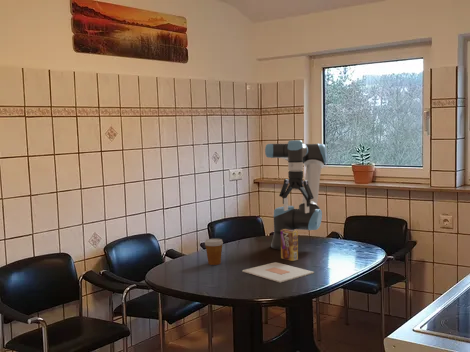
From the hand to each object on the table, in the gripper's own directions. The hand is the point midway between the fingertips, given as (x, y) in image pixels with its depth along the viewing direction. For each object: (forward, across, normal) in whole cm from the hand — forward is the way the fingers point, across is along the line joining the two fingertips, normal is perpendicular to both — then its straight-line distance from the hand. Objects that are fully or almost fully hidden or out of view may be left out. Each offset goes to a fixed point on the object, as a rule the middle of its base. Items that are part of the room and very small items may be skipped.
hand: (296, 211), depth 283 cm
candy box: (+25, -3, -3) cm, 25 cm away
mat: (+25, +9, -26) cm, 37 cm away
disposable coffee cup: (+25, -28, -33) cm, 50 cm away
